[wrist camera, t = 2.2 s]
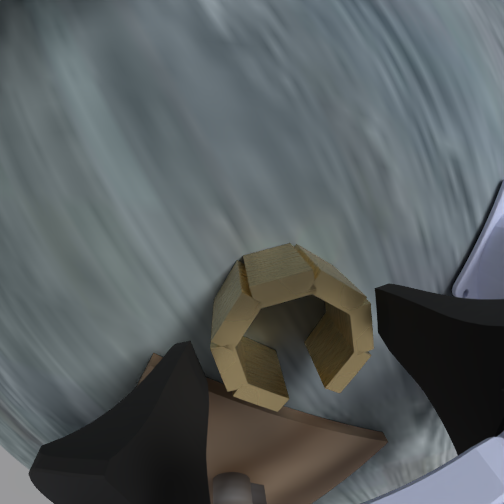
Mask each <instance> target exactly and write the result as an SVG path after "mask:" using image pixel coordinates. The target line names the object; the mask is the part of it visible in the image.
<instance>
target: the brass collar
mask: <svg viewBox="0 0 504 504" xmlns="http://www.w3.org/2000/svg"><path fill="white" fill-rule="evenodd" d="M243 258H244V263H245V264H244V263H242V262H240V261H238V260H237V261H236V263H235V265H234V266H233V268H232V270H231V271H230V273H229V275H228V276H227V278H226V280H225V281H224V283H223V285H222V286H221V288H220V290H219V292H218V293H217V295H216V297H215V298H214V305H213V317H212V331H211V346H210V349H211V352H212V354H213V357H214V360H215V362H216V365H217V367H218V370H219V372H220V374H221V377H222V379H223V382H224V384H225V387H226V389H227V391H232V392H233V396H234V397H236V398H239V399H242V400H245V401H247V402H250V403H253V404H256V405H259V406H262V407H265V408H268V409H271V410H274V411H277V412H278V411H279V410H280V409H281V408H282V407H283V405H284V404H285V403H286V402H287V401H288V400H289V396H288V392H287V389H286V385H285V382H284V378H283V375H282V371H281V368H280V364H279V360H278V357H277V353H276V350H273V349H271V348H269V347H267V346H264V345H262V344H260V343H258V342H255V341H253V340H251V339H249V338H247V337H244V336H243V335H244V334H245V332H246V331H247V329H248V328H249V326H250V325H251V323H252V322H253V320H254V319H255V317H256V316H257V314H258V312H259V311H260V309H261V308H264V307H268V306H272V305H275V304H279V303H283V302H286V301H290V300H293V299H297V298H300V297H304V296H307V295H311V294H313V295H315V296H316V297H318V298H320V299H322V300H324V301H325V307H326V313H325V314H324V316H323V317H322V319H321V320H320V322H319V323H318V324H317V326H316V327H315V329H314V330H313V331H312V333H311V334H310V335H309V337H308V338H307V340H306V341H305V342H304V343H305V345H306V347H307V349H308V352H309V354H310V356H311V358H312V360H313V363H314V365H315V367H316V369H317V372H318V374H319V376H320V378H321V381H322V383H323V385H324V387H325V388H326V389H329V390H332V391H334V392H337V393H341V392H342V390H343V389H344V388H345V387H346V386H347V385H348V383H349V382H350V381H351V380H352V379H353V378H354V376H355V375H356V374H357V373H358V371H359V370H360V369H361V368H362V367H363V365H364V364H365V363H366V362H367V360H368V359H369V358H370V356H371V354H370V353H369V352H368V351H370V350H372V349H374V345H373V328H372V315H371V303H370V302H369V301H368V300H367V299H366V298H367V297H366V296H365V295H364V294H363V293H362V292H361V291H360V290H359V289H358V288H357V287H356V286H354V285H353V284H352V283H351V282H350V281H349V280H348V279H347V278H346V277H345V276H344V275H343V274H342V273H340V272H339V271H338V270H337V269H336V268H335V267H334V266H332V265H331V264H329V263H328V262H326V261H324V260H323V259H321V258H319V257H318V256H316V255H314V254H313V253H311V252H309V251H308V250H306V249H304V248H302V247H301V246H299V245H297V244H296V246H295V247H293V246H292V245H291V244H290V243H289V244H285V245H281V246H277V247H274V248H270V249H266V250H262V251H259V252H255V253H251V254H248V255H244V256H243Z"/></svg>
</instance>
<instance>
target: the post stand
mask: <svg viewBox="0 0 504 504" xmlns="http://www.w3.org/2000/svg"><path fill="white" fill-rule="evenodd" d="M162 358H163V357H161V356H159V355H157V354H155V353H153V355H152V357H151V359H150V361H149V363H148V365H147V367H146V369H145V371H144V373H143V374H142V376H141V378H140V380H139V382H138V384H137V386H138V385H139V384H140V383H141V382H142V381H143V380H144V379H145V378H146V376H147V375H148V374H149V373H150V372H151V371H152V370H153V369H154V367H155V366H156V365H157V364H158V363H159V362H160V360H161V359H162ZM206 379H207V381H208V391H209V418H208V432H207V448H206V462H207V475H208V485H209V494H210V502H211V504H311V503H313V502H314V501H316V500H317V499H319V498H320V497H322V496H323V495H325V494H326V493H327V492H329V491H330V490H331V489H333V488H334V487H335V486H337V485H338V484H339V483H341V482H342V481H343V480H345V479H346V478H347V477H348V476H350V475H351V474H352V473H353V472H355V471H356V470H357V469H358V468H360V467H361V466H362V465H363V464H364V463H365V462H367V461H368V460H369V459H370V458H371V457H372V456H373V455H375V454H376V453H377V452H378V451H379V450H380V449H381V448H382V447H383V446H384V445H386V444H387V443H388V440H387V439H386V437H385V435H384V433H383V432H379V431H374V430H369V429H365V428H360V427H356V426H352V425H348V424H344V423H340V422H336V421H332V420H328V419H325V418H321V417H317V416H314V415H310V414H307V413H304V412H300V411H297V410H294V409H291V408H288V407H285V406H283V407H282V408H281V409H280V410H279V411H278V412H277V411H274V410H271V409H268V408H265V407H262V406H259V405H256V404H253V403H250V402H247V401H245V400H242V399H239V398H236V397H234V396H233V392H232V391H227V389H226V387H225V385H224V384H222V383H219V382H217V381H214V380H212V379H209V378H207V377H206ZM137 386H136V387H137Z"/></svg>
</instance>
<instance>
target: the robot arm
mask: <svg viewBox="0 0 504 504" xmlns="http://www.w3.org/2000/svg"><path fill="white" fill-rule="evenodd" d="M463 292H464V293H463ZM452 294H453V295H454V296H455V297H452V296H446V295H441V294H436V293H431V292H426V291H422V290H418V289H414V288H409V287H405V286H400V285H395V284H386V285H383V286H380V287H378V288H375V295H376V307H377V322H378V333H379V335H380V336H381V338H382V340H383V341H384V343H385V344H386V346H387V347H388V349H389V351H390V352H391V353H392V354H393V355H394V356H395V358H396V359H397V360H398V361H399V362H400V364H401V365H402V366H403V367H404V368H405V369H406V370H407V372H408V373H409V374H410V375H411V376H412V377H413V379H414V380H415V381H416V382H417V383H418V384H419V386H420V387H421V388H422V390H423V391H424V392H425V394H426V396H427V397H428V399H429V400H430V402H431V403H432V405H433V407H434V408H435V410H436V412H437V414H438V415H439V417H440V419H441V421H442V423H443V424H444V426H445V428H446V430H447V432H448V434H449V436H450V438H451V440H452V443H453V445H454V447H455V449H456V452H457V454H458V456H457V457H455V458H454V459H452V460H450V461H449V462H447V463H445V464H444V465H442V466H440V467H438V468H437V469H435V470H433V471H431V472H429V473H427V474H426V475H424V476H422V477H420V478H418V479H416V480H414V481H412V482H410V483H408V484H406V485H404V486H401V487H399V488H397V489H395V490H393V491H390V492H388V493H386V494H383V495H381V496H379V497H376V498H374V499H371V500H369V501H366V502H363V503H361V504H504V180H503V182H502V185H501V188H500V190H499V193H498V195H497V198H496V200H495V203H494V205H493V208H492V210H491V212H490V214H489V217H488V219H487V221H486V223H485V226H484V228H483V230H482V232H481V234H480V236H479V238H478V240H477V242H476V244H475V246H474V248H473V250H472V252H471V254H470V256H469V258H468V260H467V262H466V264H465V265H464V267H463V269H462V271H461V273H460V274H459V276H458V278H457V280H456V281H455V283H454V285H453V288H452ZM208 418H209V391H208V381H207V379H206V377H205V374H204V372H203V370H202V368H201V365H200V363H199V361H198V358H197V356H196V354H195V351H194V349H193V346H192V344H191V341H187V342H182V343H177V344H175V345H174V346H173V347H172V348H171V349H170V350H169V351H168V352H167V353H166V354H165V356H164V357H163V358H162V359H161V360H160V362H159V363H158V364H157V365H156V366H155V367H154V369H153V370H152V371H151V372H150V373H149V374H148V375H147V376H146V378H145V379H144V380H143V381H142V382H141V383H140V384H139V385H138V386H137V387H136V388H135V389H134V390H133V391H132V392H131V393H130V394H129V395H128V396H127V397H126V398H124V399H123V400H122V401H121V402H120V403H118V404H117V405H116V406H115V407H114V408H112V409H111V410H109V411H108V412H107V413H105V414H104V415H102V416H101V417H99V418H98V419H96V420H95V421H93V422H92V423H90V424H88V425H87V426H85V427H83V428H81V429H79V430H78V431H76V432H74V433H72V434H70V435H67V436H65V437H63V438H60V439H58V440H55V441H53V442H50V443H48V444H45V445H42V446H41V448H40V450H39V452H38V454H37V456H36V458H35V460H34V463H33V465H32V467H31V469H30V471H29V476H30V479H31V481H32V482H33V484H34V486H35V487H36V488H37V489H38V490H39V491H40V492H41V493H42V494H43V495H44V496H46V497H47V498H48V499H49V500H50V501H51V502H53V503H54V504H211V502H210V494H209V485H208V475H207V462H206V448H207V432H208Z"/></svg>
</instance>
